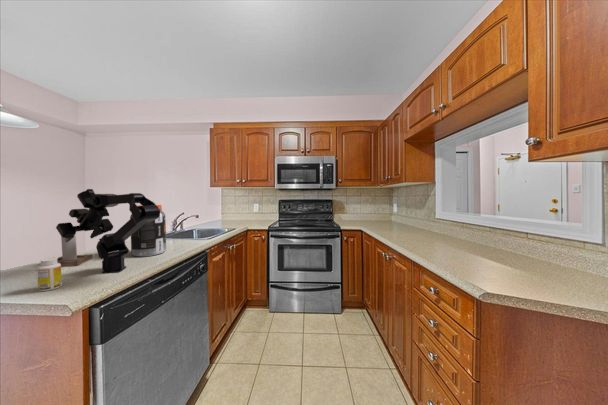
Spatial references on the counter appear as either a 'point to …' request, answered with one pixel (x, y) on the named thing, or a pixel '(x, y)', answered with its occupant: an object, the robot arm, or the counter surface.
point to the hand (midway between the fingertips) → (79, 239)
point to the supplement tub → (150, 237)
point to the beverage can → (69, 249)
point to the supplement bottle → (49, 274)
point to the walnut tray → (76, 262)
